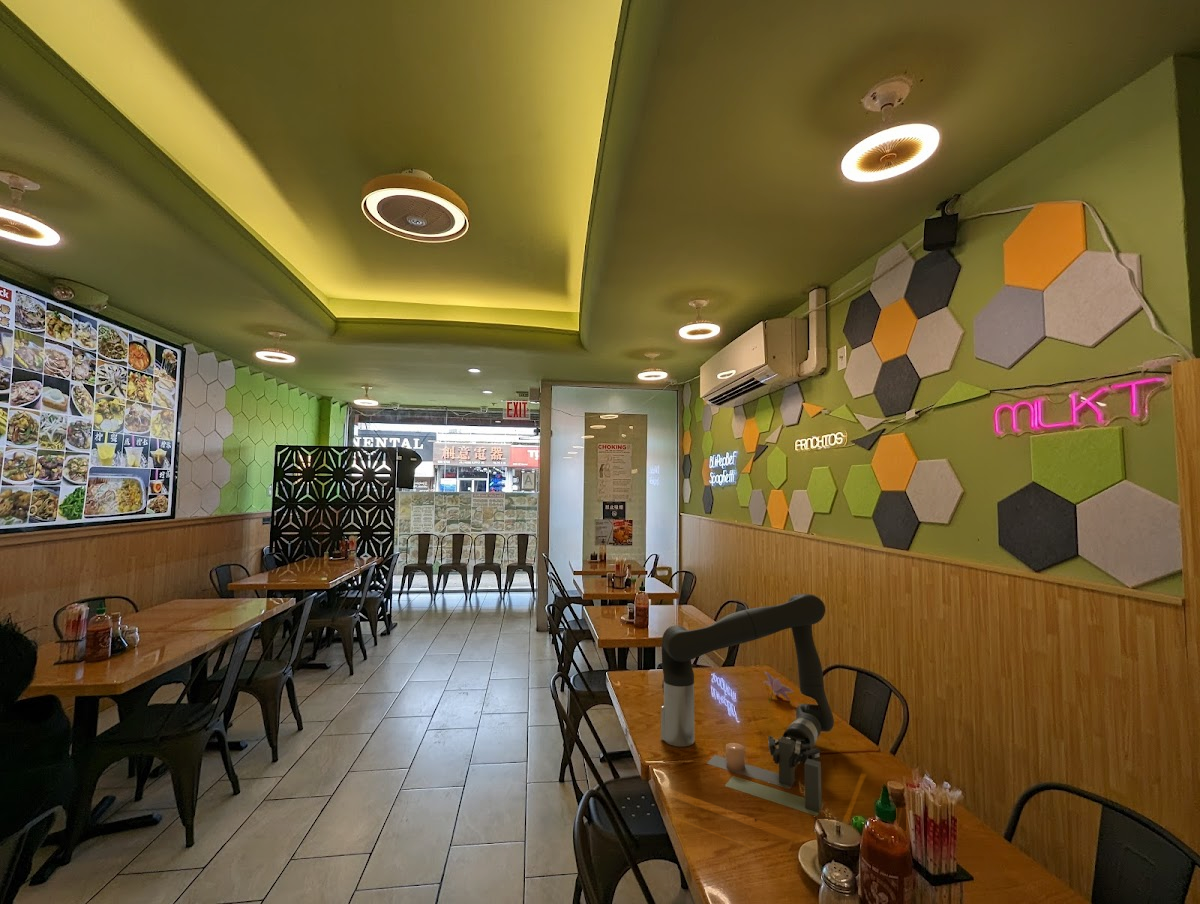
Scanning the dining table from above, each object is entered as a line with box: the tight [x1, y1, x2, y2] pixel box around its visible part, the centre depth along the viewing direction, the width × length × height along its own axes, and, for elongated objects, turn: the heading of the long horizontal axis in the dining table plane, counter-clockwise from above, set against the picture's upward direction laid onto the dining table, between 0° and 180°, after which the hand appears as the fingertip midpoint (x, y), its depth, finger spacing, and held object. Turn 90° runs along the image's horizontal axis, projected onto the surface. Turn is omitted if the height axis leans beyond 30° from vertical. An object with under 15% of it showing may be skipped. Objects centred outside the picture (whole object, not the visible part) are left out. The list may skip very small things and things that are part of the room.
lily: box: [762, 670, 795, 703], centre depth 196 cm, size 12×12×10 cm
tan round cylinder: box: [725, 742, 746, 771], centre depth 144 cm, size 5×5×5 cm
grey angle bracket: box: [724, 757, 824, 817], centre depth 130 cm, size 22×6×11 cm, turn 56°
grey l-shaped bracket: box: [706, 736, 797, 790], centre depth 142 cm, size 22×6×11 cm, turn 56°
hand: (783, 761), depth 134 cm, fingers closed on grey l-shaped bracket, 3 cm apart
